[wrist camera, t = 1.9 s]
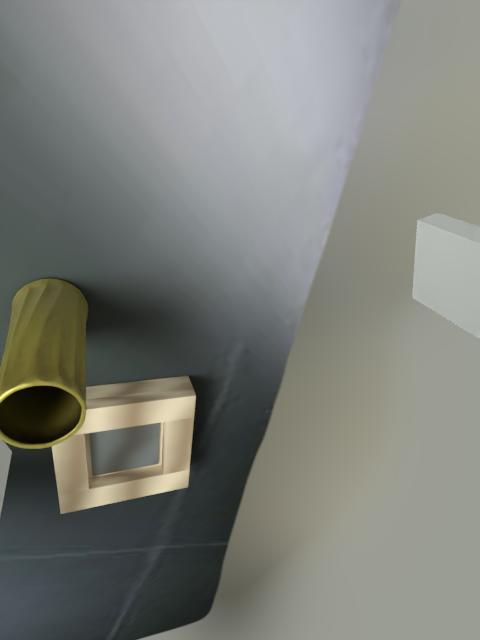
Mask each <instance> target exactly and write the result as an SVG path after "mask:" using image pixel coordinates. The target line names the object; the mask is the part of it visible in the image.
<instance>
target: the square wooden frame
mask: <svg viewBox="0 0 480 640" xmlns="http://www.w3.org/2000/svg"><path fill="white" fill-rule="evenodd" d="M195 401H196V394H195V392H194V389H193V387H192V384H191V381H190V379H189V376H181V377H172V378H163V379H154V380H144V381H135V382H126V383H117V384H108V385H99V386H90V387H86V416H85V421H84V423H83V425H82V427H81V428H80V429H79V430H78V431H77V432H76V433H75V434H74V435H73V436H72V437H70V438H68V439H67V440H65V441H63V442H61V443H59V444H57V445H54V446H52V452H53V460H54V467H55V475H56V482H57V489H58V497H59V504H60V511H61V514H63V513H68V512H73V511H78V510H82V509H87V508H92V507H96V506H101V505H106V504H111V503H115V502H120V501H125V500H129V499H134V498H139V497H144V496H148V495H153V494H158V493H162V492H167V491H172V490H177V489H181V488H186V487H188V480H189V469H190V458H191V446H192V435H193V424H194V413H195Z"/></svg>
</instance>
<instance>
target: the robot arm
mask: <svg viewBox="0 0 480 640" xmlns="http://www.w3.org/2000/svg"><path fill="white" fill-rule="evenodd" d="M412 298H414V299H415V300H417V301H418V302H420V303H422V304H423V305H425V306H427V307H428V308H430V309H431V310H433V311H435V312H436V313H438V314H440V315H441V316H443V317H444V318H446V319H448V320H450V321H451V322H453V323H455V324H456V325H457V326H459V327H461V328H462V329H464V330H466V331H468V332H469V333H471V334H472V335H474V336H475V337H477V338H479V339H480V226H477V225H474V224H471V223H468V222H465V221H462V220H459V219H456V218H453V217H450V216H447V215H444V214H441V213H436V214H433V215H430V216H427V217H424V218H422V219H419V220H417V233H416V248H415V264H414V279H413V294H412ZM11 455H12V451H11V450H10V449H9V447H8V446H7V445H6V444H5V442H4V441H3V440H2V439H1V437H0V515H1V510H2V504H3V499H4V493H5V488H6V482H7V477H8V471H9V466H10V460H11Z"/></svg>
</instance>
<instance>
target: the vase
mask: <svg viewBox="0 0 480 640" xmlns="http://www.w3.org/2000/svg"><path fill="white" fill-rule="evenodd" d="M87 317H88V304H87V301H86V299H85V298H84V296H83V294H82V293H81V291H80V290H79V289H77V288H76V287H75V286H73V285H72V284H70V283H68V282H66V281H63V280H59V279H51V278H46V279H40V280H36V281H33V282H31V283H29V284H26V285H25V286H24V287H22V288H21V289H20V290H19V291H18V292H17V294H16V295H15V297H14V299H13V302H12V314H11V320H10V327H9V332H8V336H7V341H6V346H5V351H4V355H3V359H2V363H1V368H0V437H1V439H2V440H3V441H5V442H6V443H8V444H11V445H13V446H16V447H20V448H30V449H39V448H47V447H51V446H54V445H57V444H59V443H61V442H63V441H65V440H67V439H68V438H70V437H72V436H73V435H74V434H75V433H76V432H77V431H78V430H79V429H80V428H81V427H82V425H83V423H84V421H85V416H86V321H87Z"/></svg>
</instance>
